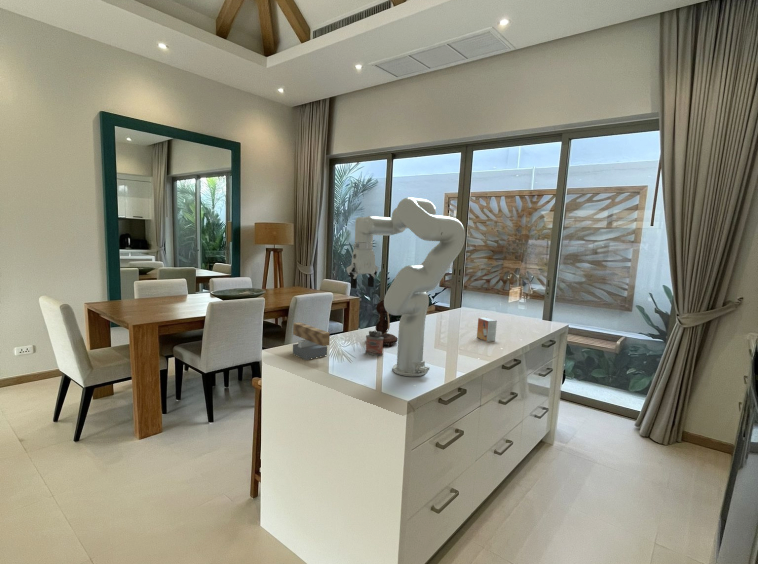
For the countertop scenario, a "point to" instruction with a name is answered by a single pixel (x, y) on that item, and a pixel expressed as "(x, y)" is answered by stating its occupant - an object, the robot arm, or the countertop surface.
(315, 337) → the batten
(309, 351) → the ridge stand
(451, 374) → the countertop surface
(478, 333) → the small box
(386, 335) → the brown rounded piece
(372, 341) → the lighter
